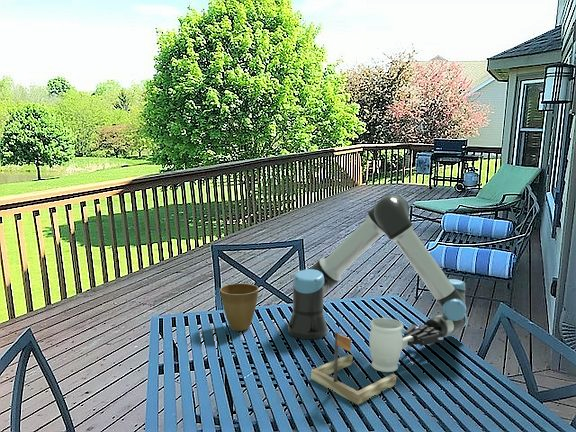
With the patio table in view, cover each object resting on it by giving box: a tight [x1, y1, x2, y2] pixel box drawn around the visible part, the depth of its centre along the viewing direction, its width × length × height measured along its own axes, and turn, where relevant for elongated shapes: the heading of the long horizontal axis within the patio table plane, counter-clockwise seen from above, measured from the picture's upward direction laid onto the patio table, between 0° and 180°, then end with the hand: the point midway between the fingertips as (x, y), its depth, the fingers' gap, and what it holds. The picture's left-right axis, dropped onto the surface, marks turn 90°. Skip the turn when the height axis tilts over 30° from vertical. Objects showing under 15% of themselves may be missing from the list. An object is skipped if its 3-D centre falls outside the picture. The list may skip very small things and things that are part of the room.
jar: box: [368, 317, 404, 373], centre depth 153 cm, size 11×10×15 cm
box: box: [310, 331, 397, 406], centre depth 143 cm, size 18×19×18 cm
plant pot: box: [219, 283, 260, 332], centre depth 185 cm, size 15×15×16 cm
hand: (399, 344), depth 155 cm, fingers closed
